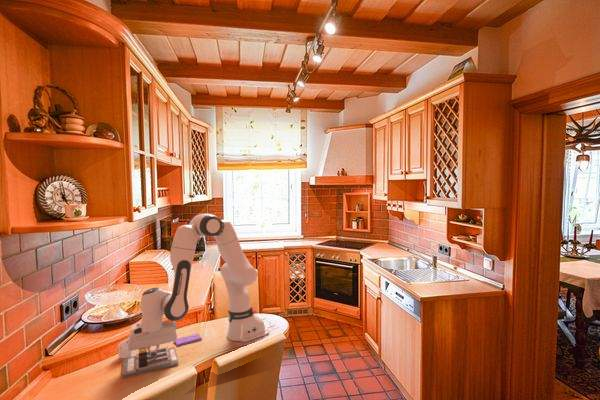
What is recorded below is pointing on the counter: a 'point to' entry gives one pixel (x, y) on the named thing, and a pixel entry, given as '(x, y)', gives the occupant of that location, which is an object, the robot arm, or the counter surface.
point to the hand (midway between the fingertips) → (153, 354)
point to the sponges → (188, 339)
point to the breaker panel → (149, 362)
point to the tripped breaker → (142, 352)
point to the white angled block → (125, 349)
